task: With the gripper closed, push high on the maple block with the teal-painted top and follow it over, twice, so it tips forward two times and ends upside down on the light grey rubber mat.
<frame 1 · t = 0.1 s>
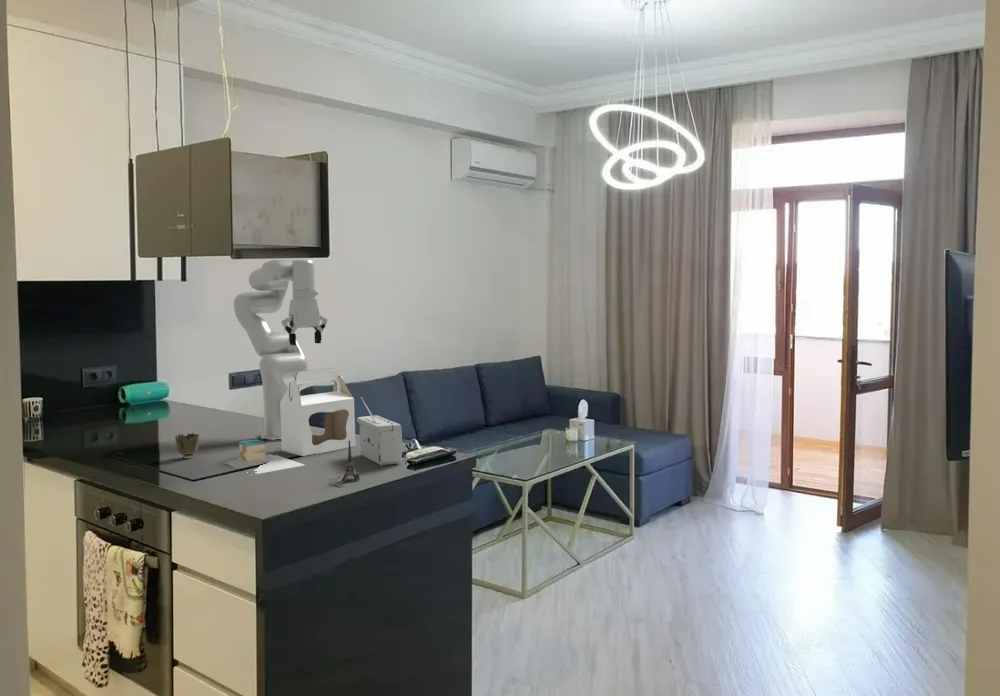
hand: (305, 344, 279), 37 cm above the countertop, tool pointing down, fingers open, 9 cm apart
stereo radio cassette player: (379, 460, 262), on the countertop
cup: (188, 459, 267), on the countertop
mat: (262, 464, 257), on the countertop
block: (252, 459, 262), resting on mat
eiffel tower figurine: (350, 481, 236), on the countertop
gable box: (319, 449, 280), on the countertop
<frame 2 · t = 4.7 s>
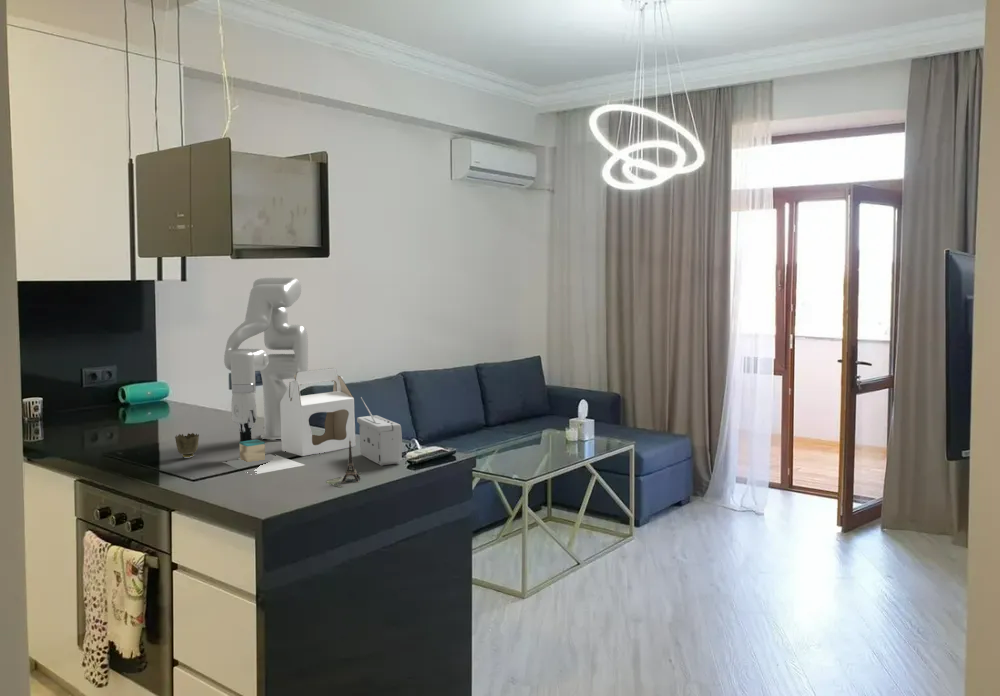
hand: (246, 443, 265), 5 cm above the countertop, tool pointing down, fingers closed
block: (252, 459, 262), resting on mat, touching gripper
everything else where it was.
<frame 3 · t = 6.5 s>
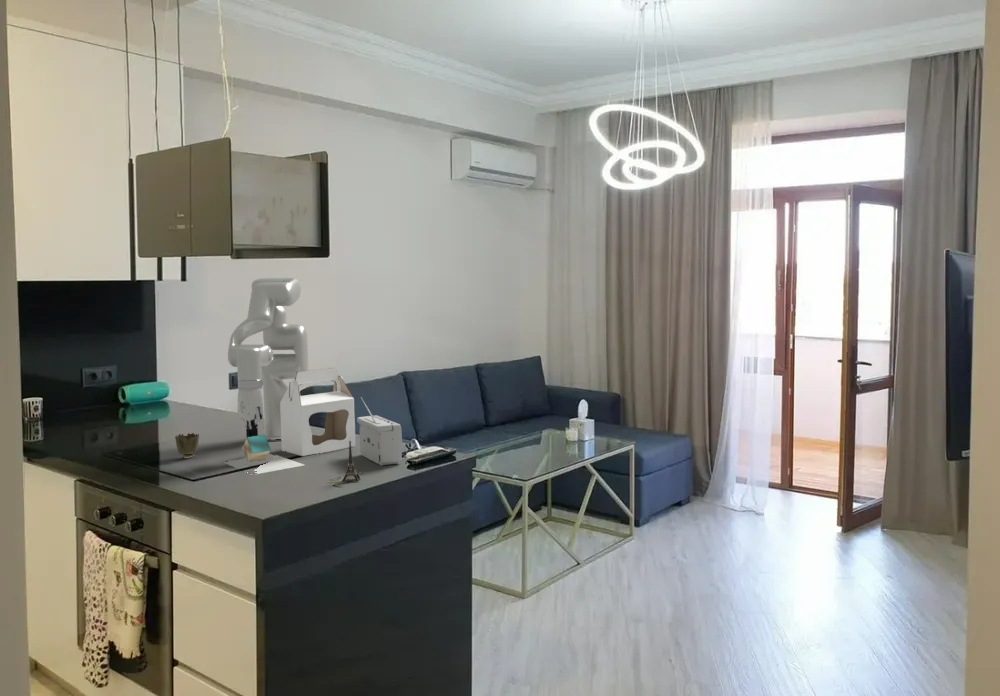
hand: (252, 440, 261), 7 cm above the countertop, tool pointing down, fingers closed
block: (253, 453, 261), point 2 cm above the countertop, tilted 46°, touching mat
everything else where it was.
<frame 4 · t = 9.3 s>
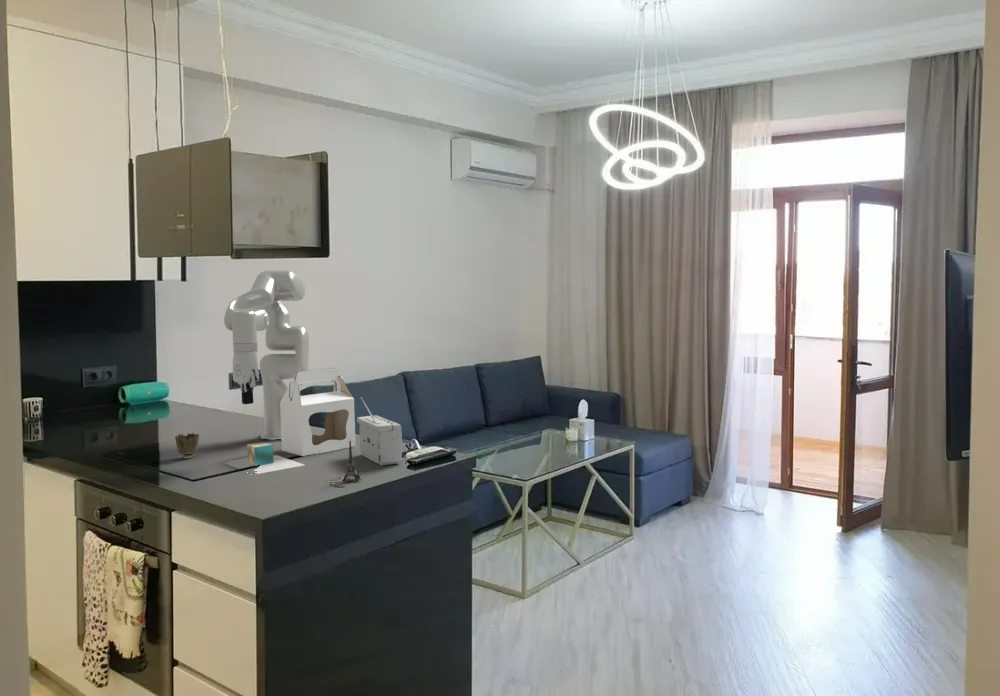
hand: (247, 403, 262), 19 cm above the countertop, tool pointing down, fingers closed
block: (256, 452, 260), point 3 cm above the countertop, tilted 90°, touching mat
everything else where it was.
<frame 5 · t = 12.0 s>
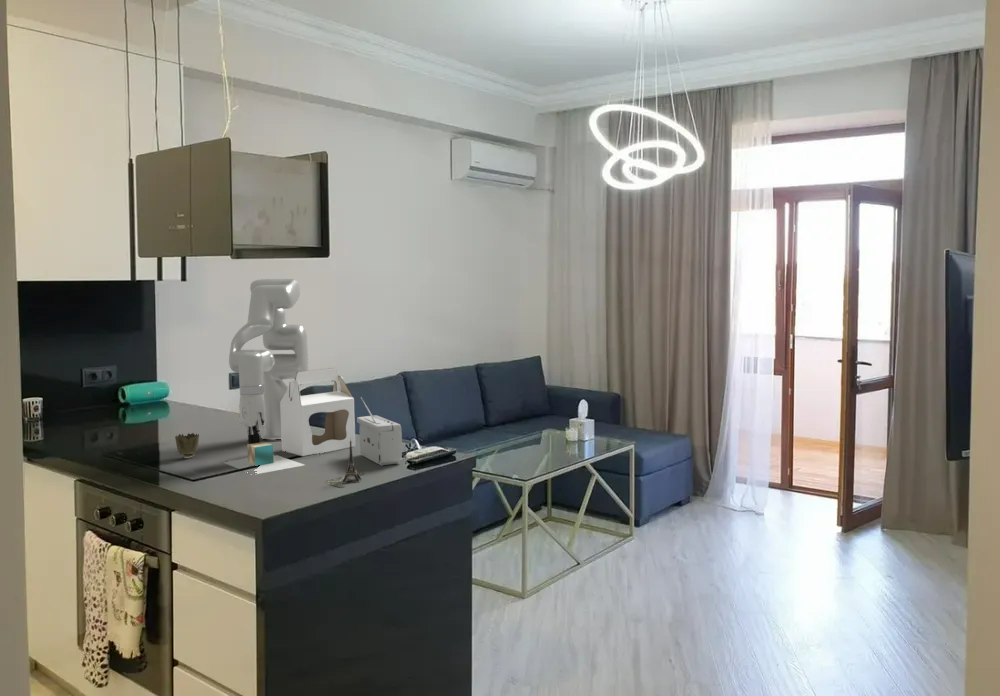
hand: (254, 445, 261), 5 cm above the countertop, tool pointing down, fingers closed
block: (256, 452, 260), point 3 cm above the countertop, tilted 91°, touching gripper, mat
everything else where it was.
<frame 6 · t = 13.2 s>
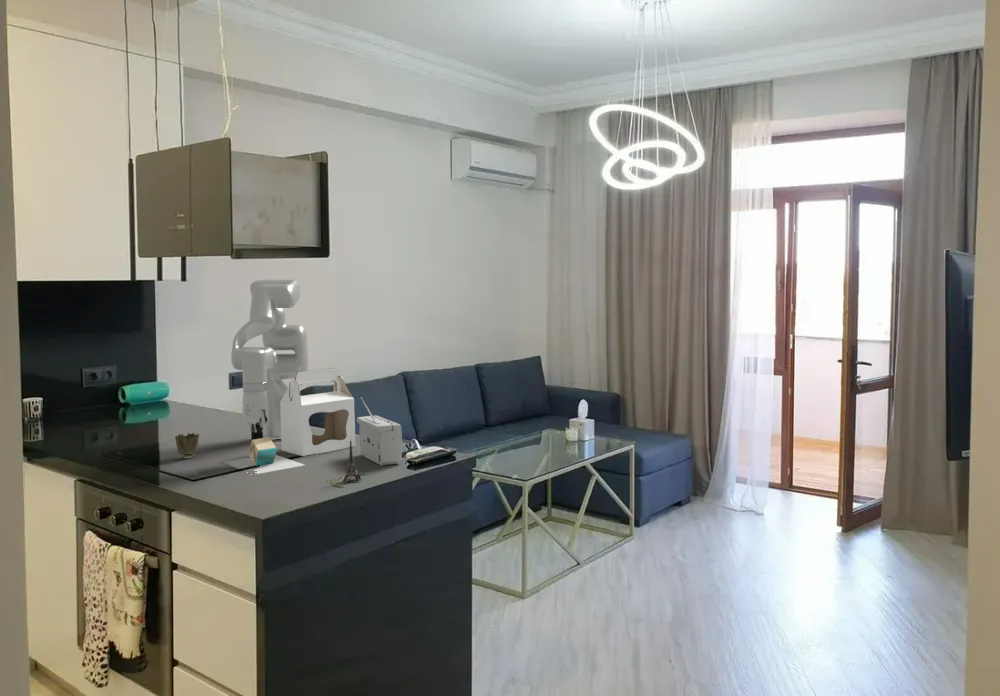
hand: (257, 443, 258), 6 cm above the countertop, tool pointing down, fingers closed
block: (259, 445, 258), point 6 cm above the countertop, tilted 119°, touching gripper, mat
everything else where it was.
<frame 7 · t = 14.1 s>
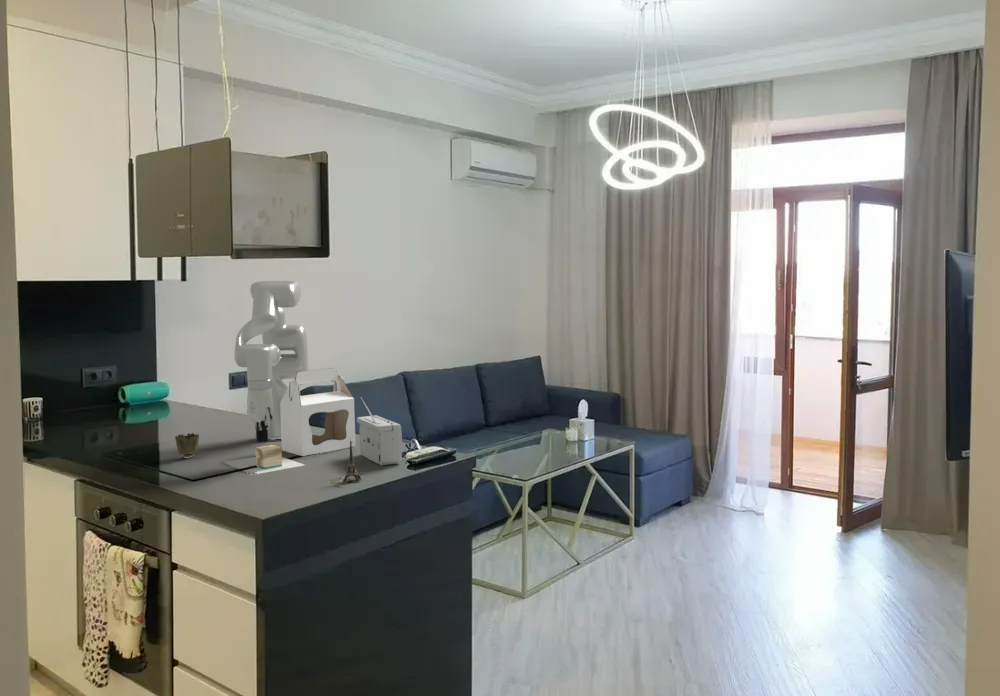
hand: (262, 441, 256), 8 cm above the countertop, tool pointing down, fingers closed
block: (268, 447, 253), point 6 cm above the countertop, tilted 180°, touching mat
everything else where it was.
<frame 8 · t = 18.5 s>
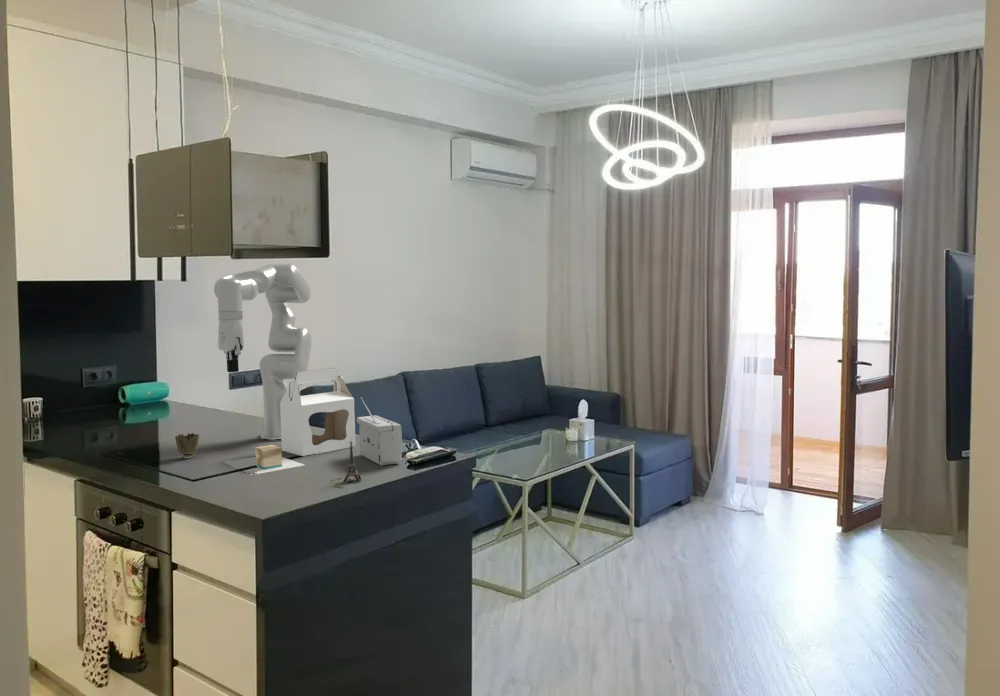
hand: (232, 371, 264), 29 cm above the countertop, tool pointing down, fingers closed
at the end: block tilted 180°; block inside the target area on the mat (0.5 cm from its centre), point 6.3 cm above the mat's base; the gripper is holding nothing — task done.
